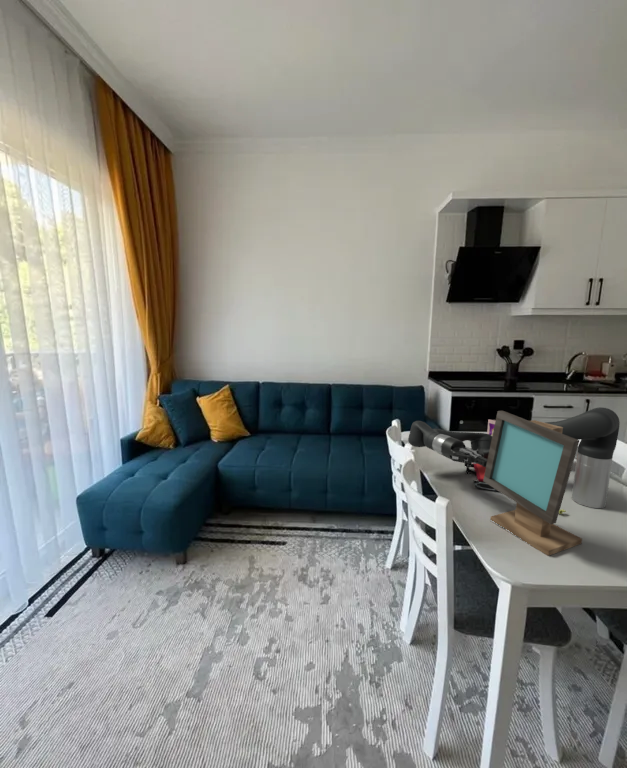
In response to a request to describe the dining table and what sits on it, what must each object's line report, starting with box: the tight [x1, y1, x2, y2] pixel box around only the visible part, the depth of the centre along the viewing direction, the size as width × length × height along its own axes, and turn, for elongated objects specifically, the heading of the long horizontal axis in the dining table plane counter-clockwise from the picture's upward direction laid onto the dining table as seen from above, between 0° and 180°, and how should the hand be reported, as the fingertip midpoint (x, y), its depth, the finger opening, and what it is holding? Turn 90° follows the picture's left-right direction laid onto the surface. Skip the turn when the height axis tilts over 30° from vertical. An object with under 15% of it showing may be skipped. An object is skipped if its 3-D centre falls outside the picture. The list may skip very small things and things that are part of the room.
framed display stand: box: [489, 419, 583, 557], centre depth 98 cm, size 14×18×33 cm
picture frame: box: [483, 410, 580, 525], centre depth 97 cm, size 2×22×24 cm, turn 22°
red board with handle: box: [464, 463, 499, 492], centre depth 140 cm, size 30×3×15 cm
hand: (488, 464), depth 108 cm, fingers closed
